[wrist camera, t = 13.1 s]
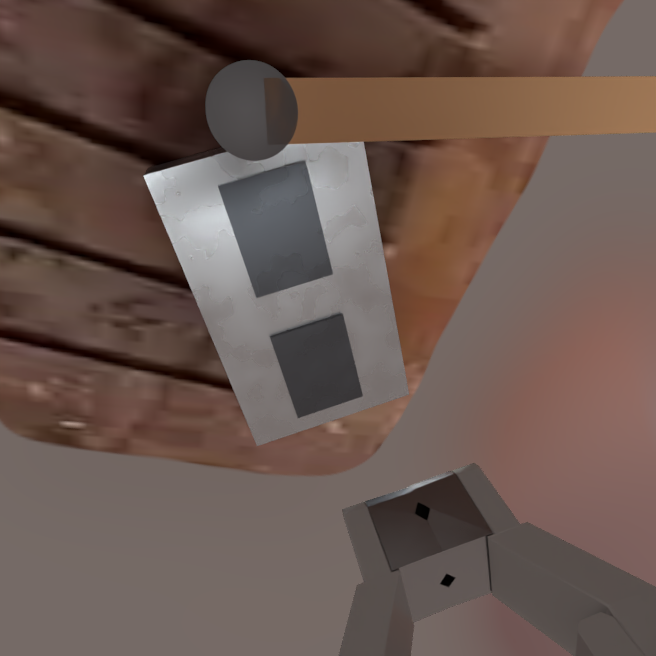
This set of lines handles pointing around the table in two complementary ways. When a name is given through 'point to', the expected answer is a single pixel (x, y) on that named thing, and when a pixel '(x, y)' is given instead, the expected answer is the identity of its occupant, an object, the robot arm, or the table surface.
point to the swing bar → (415, 108)
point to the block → (287, 279)
